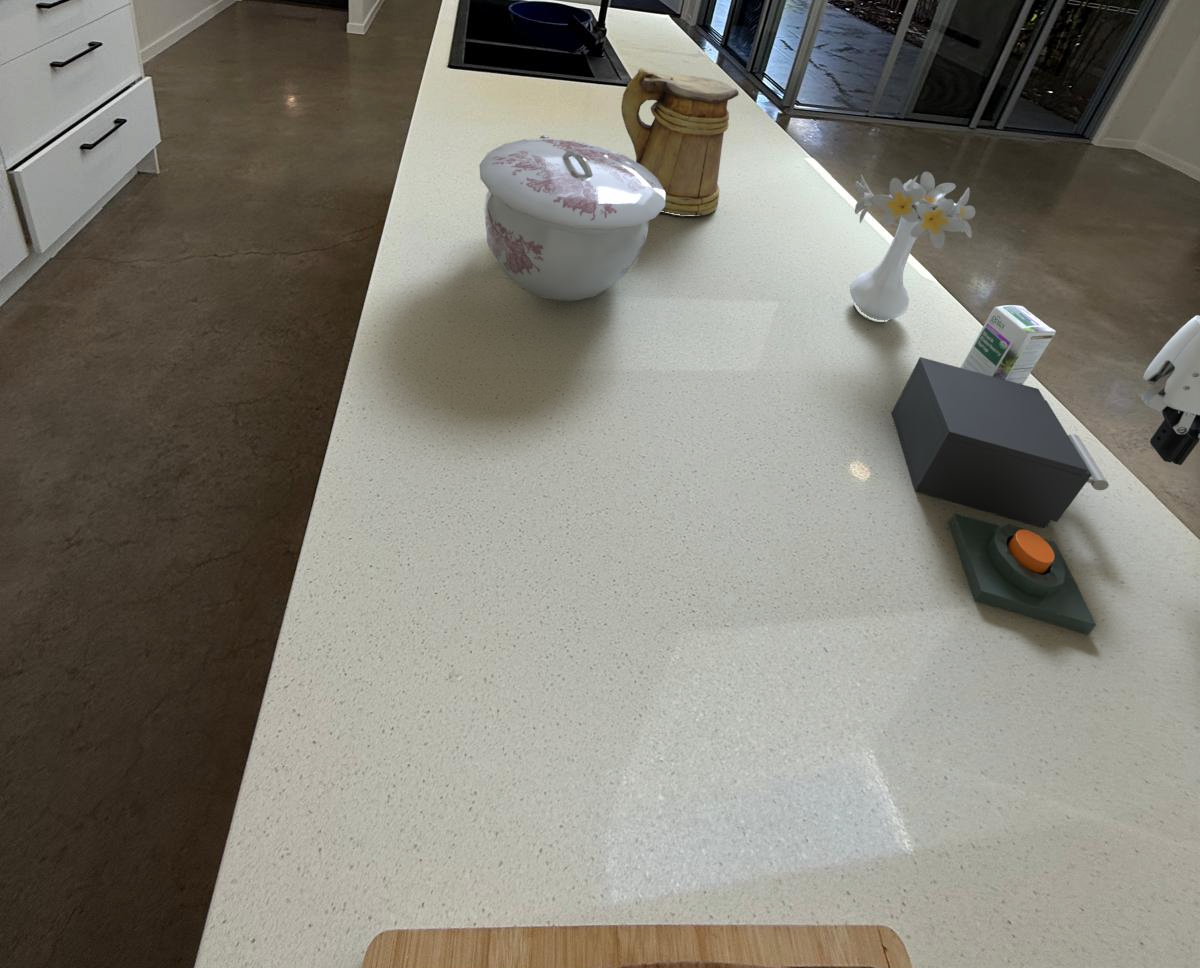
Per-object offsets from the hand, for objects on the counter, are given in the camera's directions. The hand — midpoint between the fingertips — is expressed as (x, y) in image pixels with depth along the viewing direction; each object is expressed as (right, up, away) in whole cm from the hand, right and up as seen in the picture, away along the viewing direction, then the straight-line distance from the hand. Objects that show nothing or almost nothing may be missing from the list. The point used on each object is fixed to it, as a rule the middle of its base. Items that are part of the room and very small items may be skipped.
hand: (1164, 453), depth 75 cm
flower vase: (-20, +9, +34) cm, 40 cm away
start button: (-21, -7, -8) cm, 23 cm away
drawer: (-16, -4, +5) cm, 17 cm away
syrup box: (-10, 0, +19) cm, 22 cm away
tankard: (-52, +28, +59) cm, 84 cm away
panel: (-21, -10, -6) cm, 25 cm away
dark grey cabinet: (-20, -4, +6) cm, 21 cm away
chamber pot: (-72, +17, +28) cm, 79 cm away
